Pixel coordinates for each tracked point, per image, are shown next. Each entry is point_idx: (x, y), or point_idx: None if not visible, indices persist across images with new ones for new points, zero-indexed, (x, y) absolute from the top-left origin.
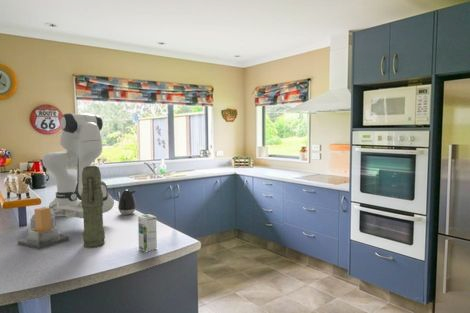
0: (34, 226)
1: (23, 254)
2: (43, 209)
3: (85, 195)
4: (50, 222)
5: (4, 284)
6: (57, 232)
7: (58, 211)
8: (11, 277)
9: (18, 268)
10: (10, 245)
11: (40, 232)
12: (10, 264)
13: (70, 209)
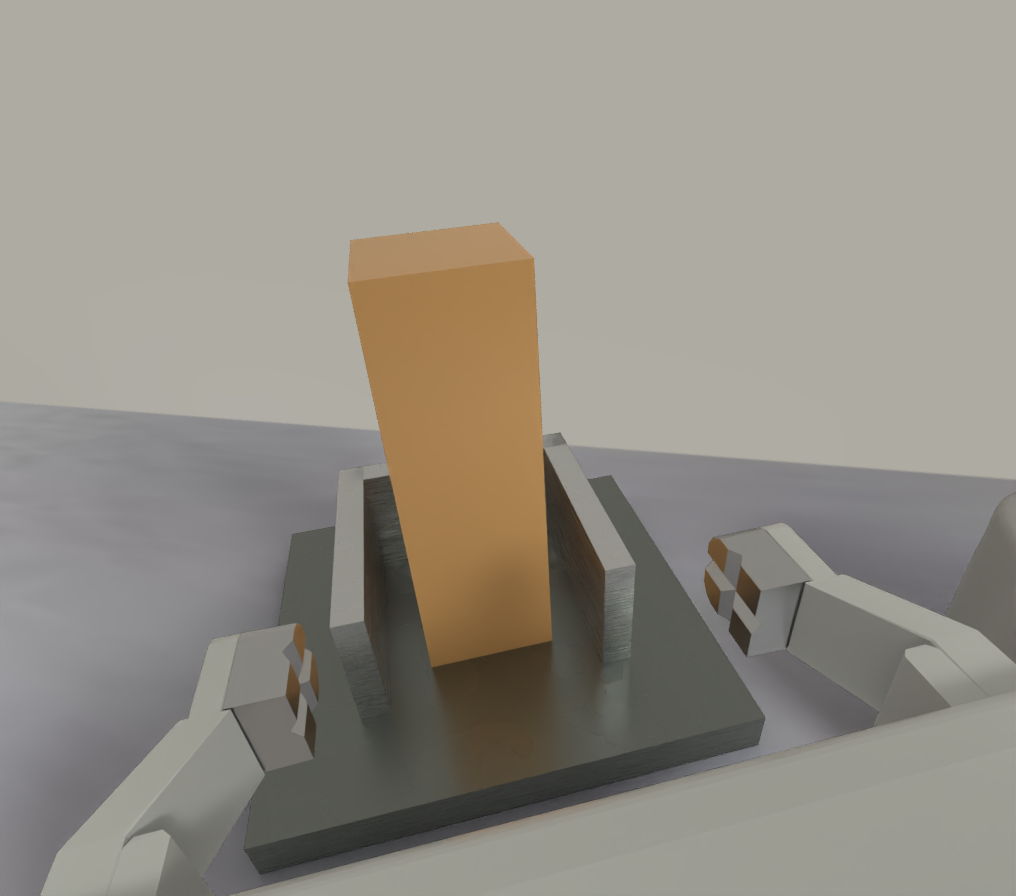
0: (965, 576)
1: (314, 485)
2: (354, 251)
3: None
4: (396, 502)
5: (36, 404)
6: (342, 664)
7: (853, 624)
8: (64, 420)
9: (124, 444)
10: (612, 469)
11: (358, 481)
12: (226, 433)
13: (530, 826)
